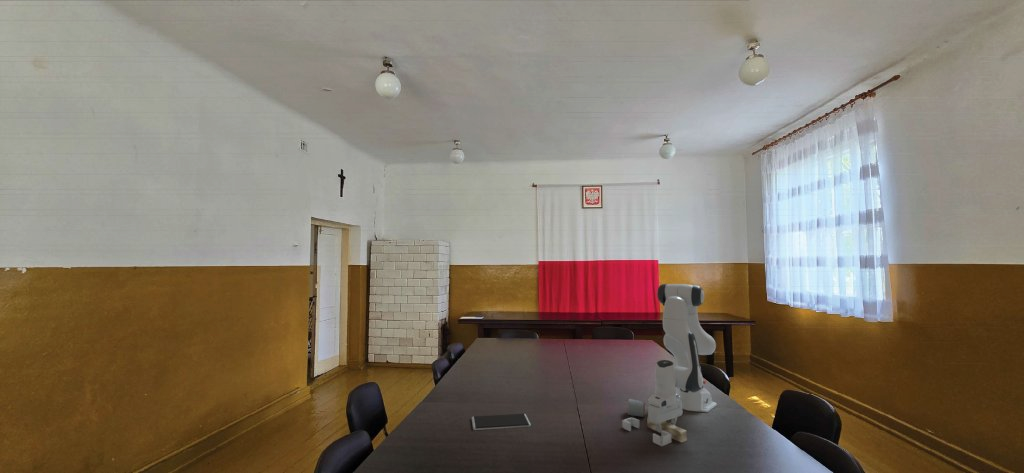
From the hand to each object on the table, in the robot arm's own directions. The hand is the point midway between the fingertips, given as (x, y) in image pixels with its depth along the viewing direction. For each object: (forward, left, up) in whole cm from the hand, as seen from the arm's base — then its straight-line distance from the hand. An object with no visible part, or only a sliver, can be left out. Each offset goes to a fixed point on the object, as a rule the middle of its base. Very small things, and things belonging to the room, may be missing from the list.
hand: (666, 429), depth 172 cm
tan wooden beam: (0, 0, -2) cm, 2 cm away
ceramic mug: (-6, -22, -2) cm, 23 cm away
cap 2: (+9, +5, -2) cm, 10 cm away
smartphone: (+57, -50, -2) cm, 76 cm away
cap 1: (+9, -13, -2) cm, 16 cm away
